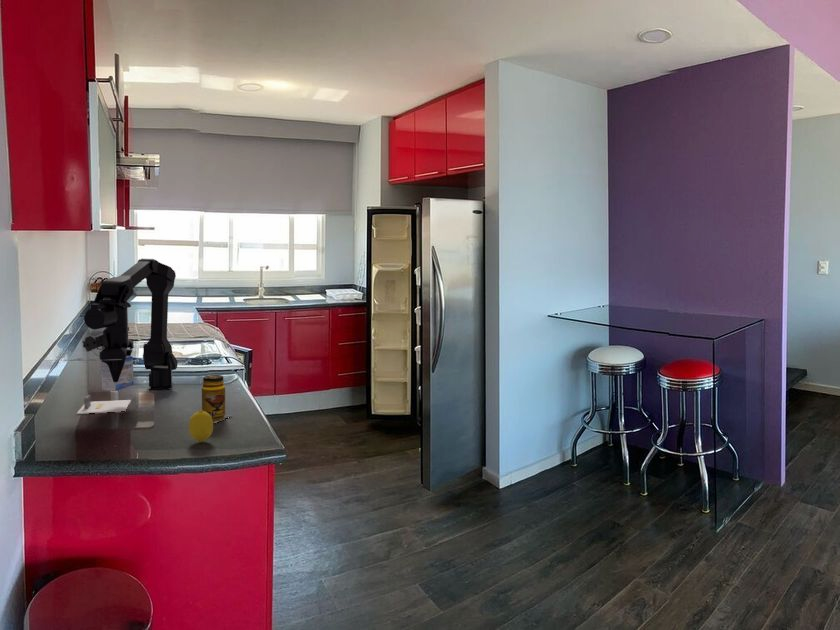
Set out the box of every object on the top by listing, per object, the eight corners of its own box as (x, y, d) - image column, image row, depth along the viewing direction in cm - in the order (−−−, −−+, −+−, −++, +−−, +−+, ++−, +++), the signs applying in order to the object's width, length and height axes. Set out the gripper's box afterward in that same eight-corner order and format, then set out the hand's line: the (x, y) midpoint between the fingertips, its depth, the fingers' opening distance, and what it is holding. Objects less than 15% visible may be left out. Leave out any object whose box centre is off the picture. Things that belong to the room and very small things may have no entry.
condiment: (216, 424, 160) (215, 380, 159) (189, 420, 163) (189, 377, 162) (232, 417, 167) (232, 374, 166) (206, 413, 170) (206, 371, 168)
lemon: (192, 438, 148) (192, 406, 147) (215, 438, 149) (215, 407, 148) (186, 446, 143) (185, 413, 142) (210, 446, 143) (209, 413, 142)
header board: (131, 401, 180) (130, 390, 180) (125, 411, 169) (124, 400, 168) (86, 403, 176) (85, 391, 176) (76, 414, 165) (76, 402, 165)
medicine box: (115, 391, 169) (114, 361, 168) (101, 390, 170) (100, 360, 169) (134, 384, 177) (133, 355, 175) (120, 383, 177) (119, 354, 176)
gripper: (91, 320, 177) (93, 372, 179) (77, 329, 160) (79, 387, 162) (133, 320, 181) (134, 371, 183) (123, 329, 163) (125, 385, 165)
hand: (118, 378), depth 173 cm, fingers closed on medicine box, 9 cm apart
